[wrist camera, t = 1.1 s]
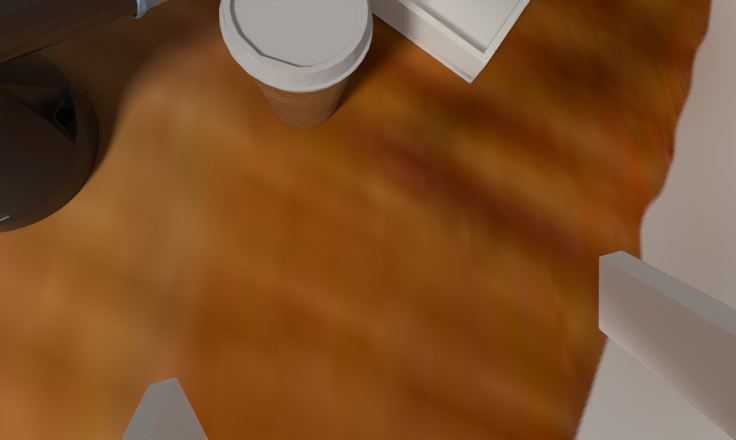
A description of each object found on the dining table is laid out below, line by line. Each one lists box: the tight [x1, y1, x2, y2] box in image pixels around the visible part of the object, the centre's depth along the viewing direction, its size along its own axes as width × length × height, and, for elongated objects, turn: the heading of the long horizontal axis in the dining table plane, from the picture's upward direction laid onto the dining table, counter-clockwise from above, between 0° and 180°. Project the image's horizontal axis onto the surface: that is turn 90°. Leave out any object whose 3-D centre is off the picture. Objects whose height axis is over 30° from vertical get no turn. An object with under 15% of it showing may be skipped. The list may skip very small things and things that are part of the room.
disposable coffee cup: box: [219, 0, 373, 128], centre depth 29 cm, size 10×10×12 cm
